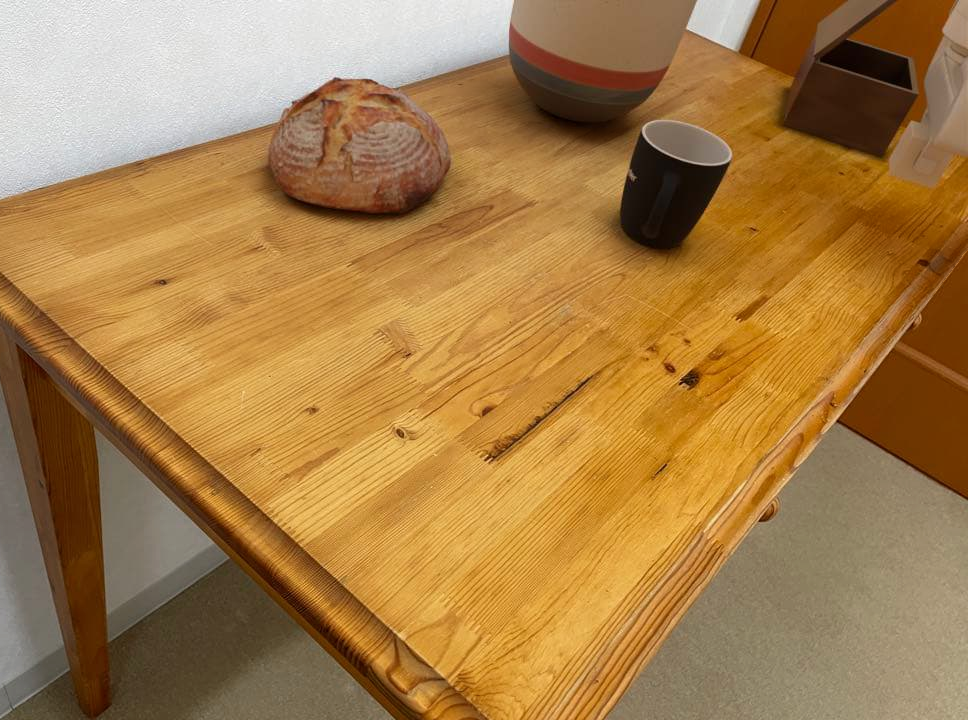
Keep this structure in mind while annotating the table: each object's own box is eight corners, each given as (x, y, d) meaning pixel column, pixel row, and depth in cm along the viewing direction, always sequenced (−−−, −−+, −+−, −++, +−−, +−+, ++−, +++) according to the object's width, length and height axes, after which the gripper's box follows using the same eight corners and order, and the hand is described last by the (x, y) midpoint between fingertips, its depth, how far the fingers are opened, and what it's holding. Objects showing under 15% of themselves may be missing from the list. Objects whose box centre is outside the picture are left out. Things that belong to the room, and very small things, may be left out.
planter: (579, 163, 96) (644, -39, 82) (457, 87, 106) (497, -106, 91) (678, 130, 108) (751, -51, 94) (561, 65, 118) (611, -109, 103)
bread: (229, 178, 83) (225, 76, 76) (362, 127, 95) (369, 35, 89) (354, 246, 76) (362, 140, 70) (480, 182, 89) (496, 87, 82)
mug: (617, 199, 92) (650, 110, 85) (697, 227, 90) (738, 139, 83) (592, 250, 83) (626, 155, 76) (680, 282, 82) (723, 189, 75)
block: (930, 172, 93) (955, 133, 90) (933, 189, 90) (958, 149, 86) (888, 159, 94) (911, 119, 90) (889, 176, 90) (912, 135, 87)
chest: (880, 117, 125) (913, 58, 119) (882, 157, 114) (919, 94, 108) (789, 88, 127) (817, 29, 121) (782, 125, 116) (813, 61, 110)
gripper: (1049, 71, 73) (957, 211, 82) (1018, 10, 88) (942, 135, 97) (974, 49, 74) (891, 190, 84) (956, -7, 89) (887, 118, 98)
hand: (918, 160), depth 90 cm, fingers closed on block, 4 cm apart
